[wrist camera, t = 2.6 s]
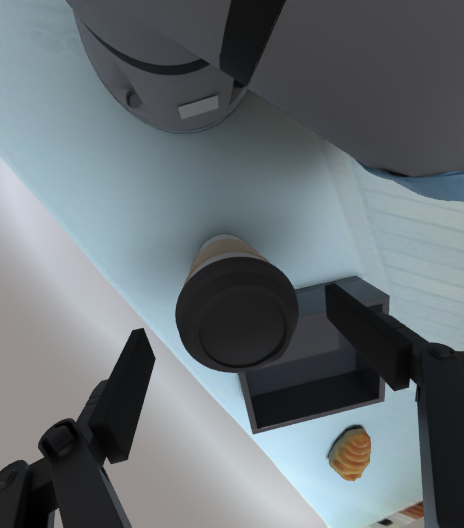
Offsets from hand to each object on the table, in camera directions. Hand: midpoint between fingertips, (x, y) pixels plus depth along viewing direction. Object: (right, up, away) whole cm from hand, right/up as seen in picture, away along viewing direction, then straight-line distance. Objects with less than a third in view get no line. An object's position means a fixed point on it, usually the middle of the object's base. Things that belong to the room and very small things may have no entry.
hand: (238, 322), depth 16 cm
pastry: (+21, -30, +27) cm, 46 cm away
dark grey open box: (+9, -7, +18) cm, 21 cm away
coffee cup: (-1, +5, +13) cm, 13 cm away
